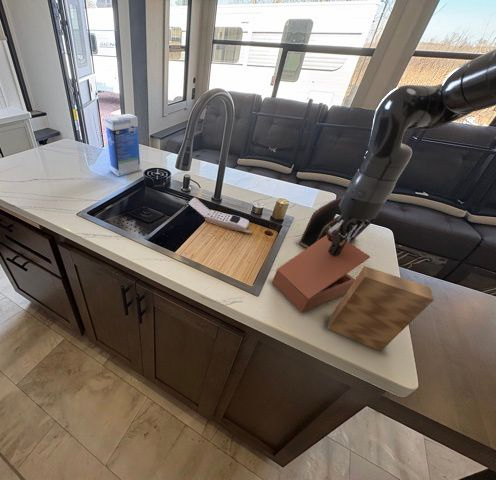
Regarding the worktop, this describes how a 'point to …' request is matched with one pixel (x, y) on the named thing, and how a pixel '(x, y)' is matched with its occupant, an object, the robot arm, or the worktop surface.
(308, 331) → the worktop surface
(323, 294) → the case
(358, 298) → the wooden block
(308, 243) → the letter holder
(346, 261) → the cover
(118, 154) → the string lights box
